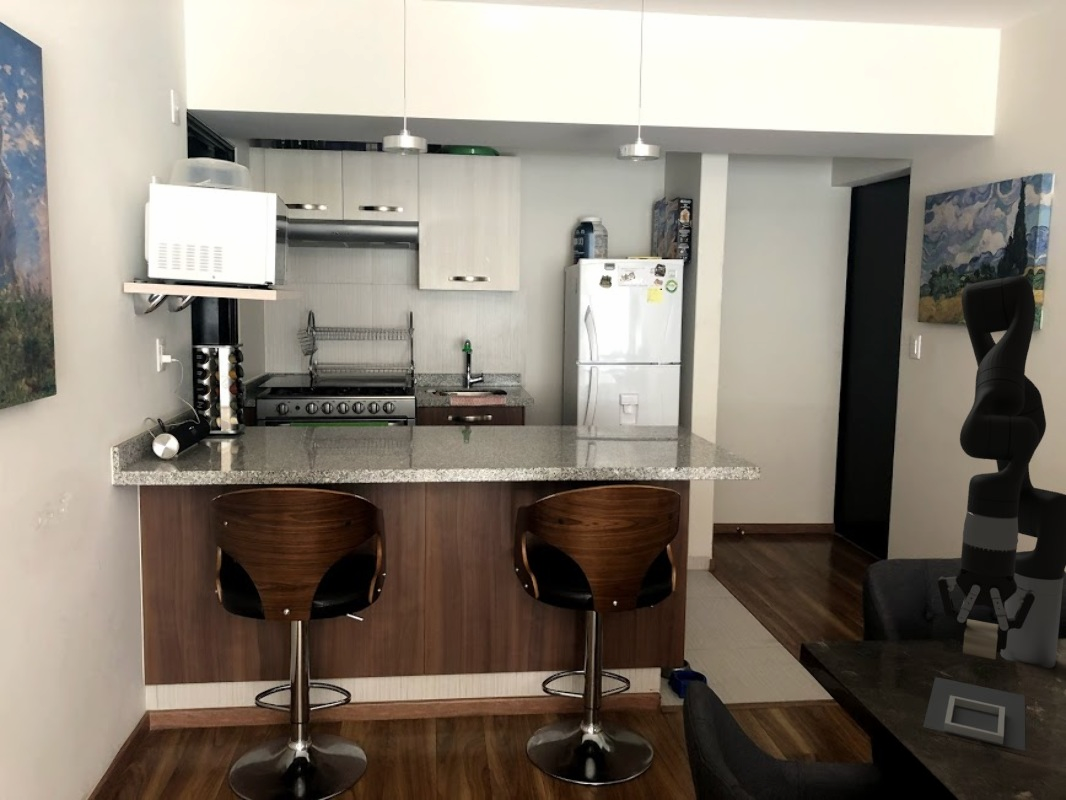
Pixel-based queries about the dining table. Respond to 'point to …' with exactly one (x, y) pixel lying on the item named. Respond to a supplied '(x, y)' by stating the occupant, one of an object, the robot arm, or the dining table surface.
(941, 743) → the dining table surface
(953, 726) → the slot frame
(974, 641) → the tan rectangular block
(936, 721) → the mat
